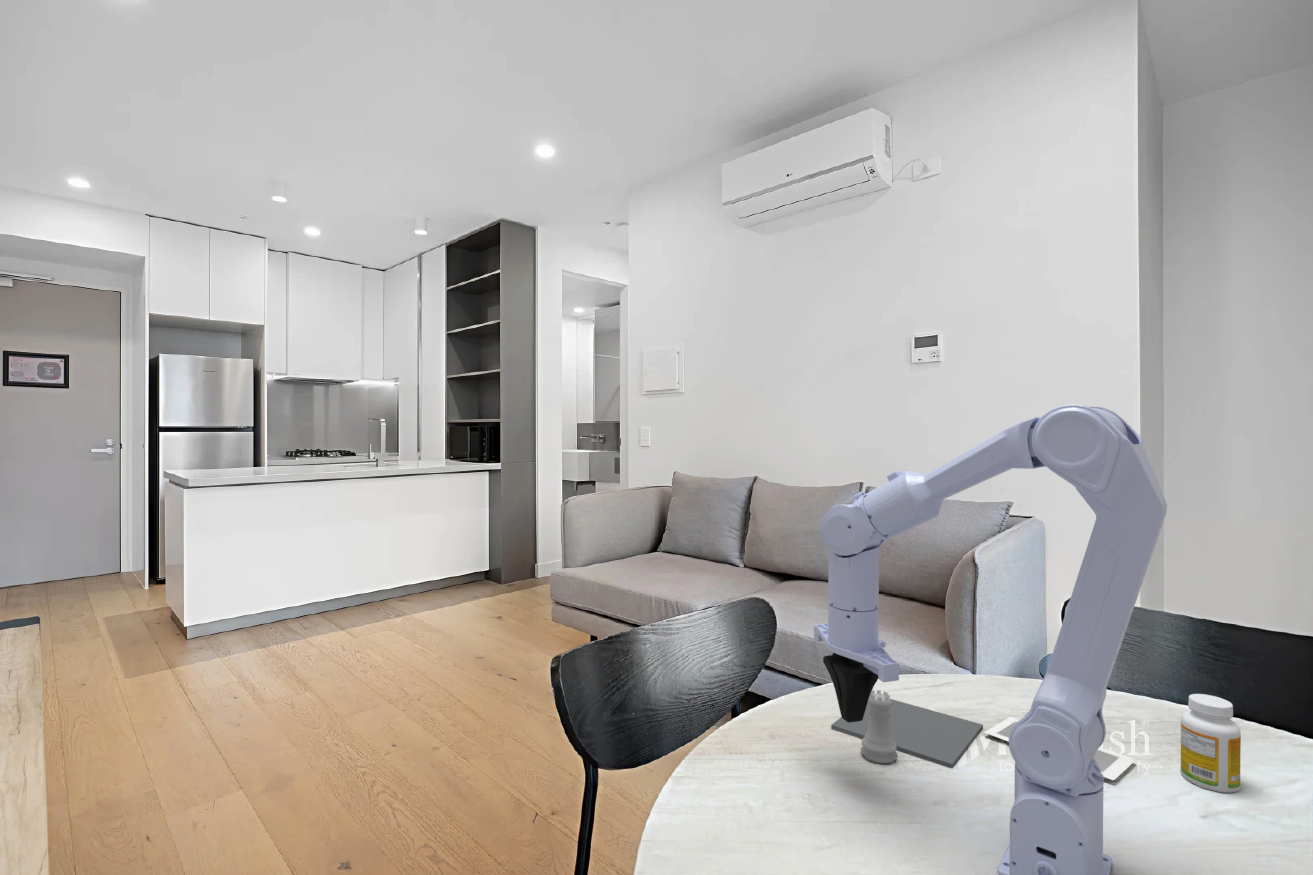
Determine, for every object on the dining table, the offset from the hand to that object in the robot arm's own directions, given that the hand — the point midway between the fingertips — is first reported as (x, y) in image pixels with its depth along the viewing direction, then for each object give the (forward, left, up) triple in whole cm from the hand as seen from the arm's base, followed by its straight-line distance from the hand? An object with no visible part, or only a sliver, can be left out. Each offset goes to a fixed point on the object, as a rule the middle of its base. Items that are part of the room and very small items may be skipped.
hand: (852, 719), depth 76 cm
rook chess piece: (+8, 0, -8) cm, 11 cm away
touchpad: (+25, -17, -8) cm, 31 cm away
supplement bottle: (+28, -32, -8) cm, 43 cm away
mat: (+18, 0, -8) cm, 19 cm away
